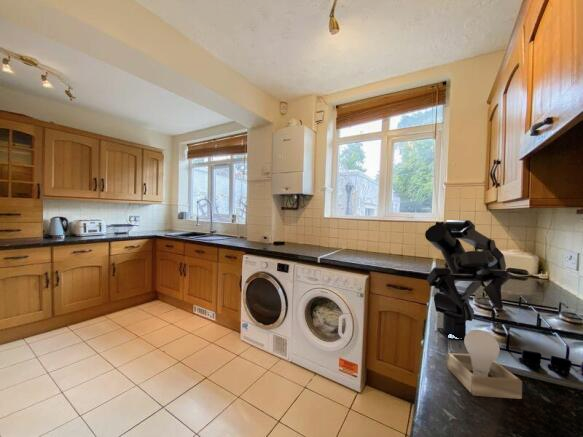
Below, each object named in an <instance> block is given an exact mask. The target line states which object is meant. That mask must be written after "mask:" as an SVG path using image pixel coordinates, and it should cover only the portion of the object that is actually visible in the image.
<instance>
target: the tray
mask: <svg viewBox="0 0 583 437" xmlns="http://www.w3.org/2000/svg"><path fill="white" fill-rule="evenodd" d="M446 356H447V357H446V358H447V359H446V368H447V369H448V371H450V372H451V373H452V375H453V376H454V377H455V378H456V379H457V380H458V381H459V382H460V383H461V384H462V385H463V386H464V387H465V388H466V389H467V391H469V393H470V394H472V396H475V397H488V398H489V397H490V398H502V399H504V398H505V399H515V400H516V399H518V400H521V399H522V398H523V381H522V380H521V379H520V378H519V377H518V376H516V375H514V373H512V372H510V371H509V370H508V369H507V368H506V367H504V366H503V365H501V364H500V363H499V362H497V361H496V359H495V360H494V361H493V362H492V364H491V366H490V371H489V372H488V375H489V376H488V377H480V376H474V375H473V367H472V362H471V357H470V354H469V353H457V352H447V354H446ZM471 371H472V372H471Z"/></svg>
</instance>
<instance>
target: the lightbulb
mask: <svg viewBox="0 0 583 437" xmlns="http://www.w3.org/2000/svg"><path fill="white" fill-rule="evenodd" d="M463 342H464V346H465V349H466V351H467V354H470V357H471V362H472V367H473V371H472V374H473V375H474V376H480V377H489V373H488V372H489V371H490V366H491V364H492V362H493V361H494V360H495V361H496V359H497V358H498V356H499V354H500V348H501V347H500V345H499V343H498V341H497V340H496V338H495V337H494V336H493V334H490V333H489V332H487V331H485V330H482V329H473V330H470V331H468V332H466V336H465V338H464V340H463Z"/></svg>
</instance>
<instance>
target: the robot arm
mask: <svg viewBox="0 0 583 437" xmlns="http://www.w3.org/2000/svg"><path fill="white" fill-rule="evenodd" d="M424 236H425V239H426V240H427V241H428V242H429V243H430V244H431V245H432V246H433V247H434V248H436V249H437V250H439V251H440V252H441V254H442V257H443V258H444V260H445V263H444V267H435V266H434V267H433V268H432V269H431V270H430V272H429V273H428V276H427V277H426V281H427V283H428V286H429V287H434V288H435V290H436V289H437V291H436V292H434V295H433V302H434V308H435V311H436V312H438V313H441V314H442V325H441V326H442V327H437V331H438V332H440V333H441V334H442V335H443V336H444V337H446V338H447V337H448V335H449V334H452V335H454V336H455V337H457V338H462V339H464V338H465V336H466V334H467V325H466V322H467V321H470V322H472V321H473V319H474V316H475V310H474V308H473V307H472V305H471V303H470V300H469V298H470V297H472V295H473V294H474V293H475V292H477V290H478V289H479V288H480V287H481V286H482V287H484V288H483V289H482V290H483V292H484V293H485V295H487V297H488V299H489V300H490V301H491V302H492V303H493V305H494V307H496V308H497V310H500V311H501V310H502V309H503V308H504V306H503V299H502V286H503V285H505V283H507V282H508V280H510V279H511V276H510V275H509V273H508V272H507V271H506V269H507V268H506V267H507V265H506V260H505V259H506V258H505V255H504V253H503V252H502V251H501V250H500V249H498V247H497V244H496V242H495V240H494V239H492V238H489V237H487V236H485V235H484V234H482V233H480V232H479V231H478V230H476V225H475V224H474V223H473V222H472V221H471V220H467V219H446V220H445V222H444V221H436V222H435V224H434V225H432V226H430V227H428V228H427V229H426V230H425V233H424ZM460 240H461V241H463V242H465V243H466V244H468V245H470V246H472V247H473V248H474V250H468V251H466V250H465V249H464V247H463V244H462V243H461V241H460Z"/></svg>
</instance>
